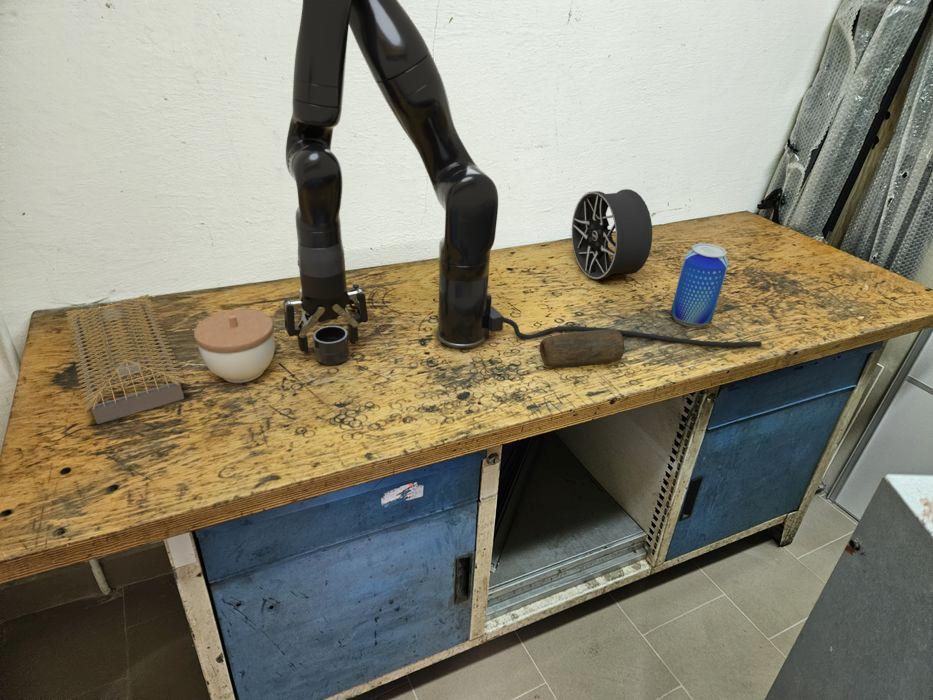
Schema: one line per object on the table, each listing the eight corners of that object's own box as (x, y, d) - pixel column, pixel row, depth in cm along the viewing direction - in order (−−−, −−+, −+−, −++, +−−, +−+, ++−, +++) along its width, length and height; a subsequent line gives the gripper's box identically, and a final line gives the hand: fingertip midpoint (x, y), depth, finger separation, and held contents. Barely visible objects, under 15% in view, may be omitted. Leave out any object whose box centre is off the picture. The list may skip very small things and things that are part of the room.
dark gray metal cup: (344, 345, 112) (341, 323, 109) (353, 362, 107) (351, 338, 105) (312, 352, 109) (309, 329, 107) (320, 369, 105) (317, 346, 102)
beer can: (712, 315, 127) (733, 246, 119) (708, 333, 121) (730, 261, 112) (672, 306, 130) (690, 238, 121) (666, 323, 124) (684, 252, 115)
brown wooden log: (606, 348, 114) (612, 318, 111) (623, 368, 109) (630, 338, 105) (534, 357, 111) (537, 327, 107) (548, 378, 105) (552, 347, 101)
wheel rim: (567, 258, 150) (577, 180, 139) (598, 254, 153) (611, 177, 142) (608, 293, 134) (624, 208, 123) (642, 288, 137) (660, 205, 126)
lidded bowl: (188, 381, 101) (173, 325, 95) (238, 345, 111) (227, 293, 105) (248, 400, 97) (236, 343, 91) (294, 361, 107) (287, 308, 101)
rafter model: (191, 399, 96) (183, 368, 93) (91, 429, 90) (78, 397, 86) (152, 309, 121) (144, 282, 117) (71, 327, 114) (60, 299, 110)
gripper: (283, 281, 93) (294, 366, 102) (370, 268, 98) (373, 349, 107) (274, 262, 98) (285, 344, 107) (356, 251, 104) (360, 330, 113)
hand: (329, 347), depth 107 cm, fingers open, 8 cm apart
